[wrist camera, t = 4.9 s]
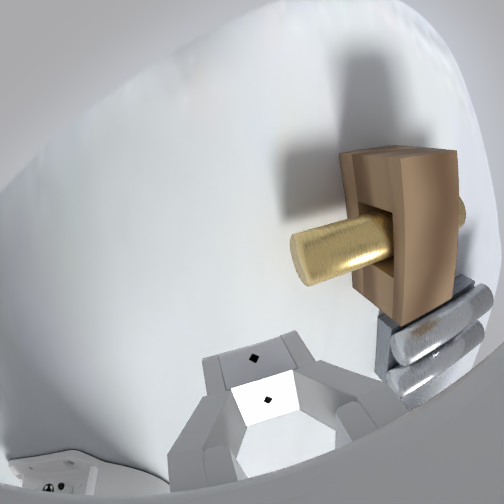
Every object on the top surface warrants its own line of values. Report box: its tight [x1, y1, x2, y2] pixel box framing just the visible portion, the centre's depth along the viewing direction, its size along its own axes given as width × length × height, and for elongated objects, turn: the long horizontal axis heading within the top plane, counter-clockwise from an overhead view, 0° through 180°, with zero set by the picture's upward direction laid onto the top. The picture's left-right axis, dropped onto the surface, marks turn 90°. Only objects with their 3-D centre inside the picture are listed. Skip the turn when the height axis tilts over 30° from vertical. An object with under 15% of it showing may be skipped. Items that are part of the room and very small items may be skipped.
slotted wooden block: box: [339, 145, 459, 326], centre depth 18 cm, size 5×10×6 cm, turn 12°
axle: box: [290, 197, 466, 286], centre depth 17 cm, size 13×3×3 cm, turn 102°
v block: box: [375, 274, 493, 399], centre depth 24 cm, size 12×7×5 cm, turn 102°
